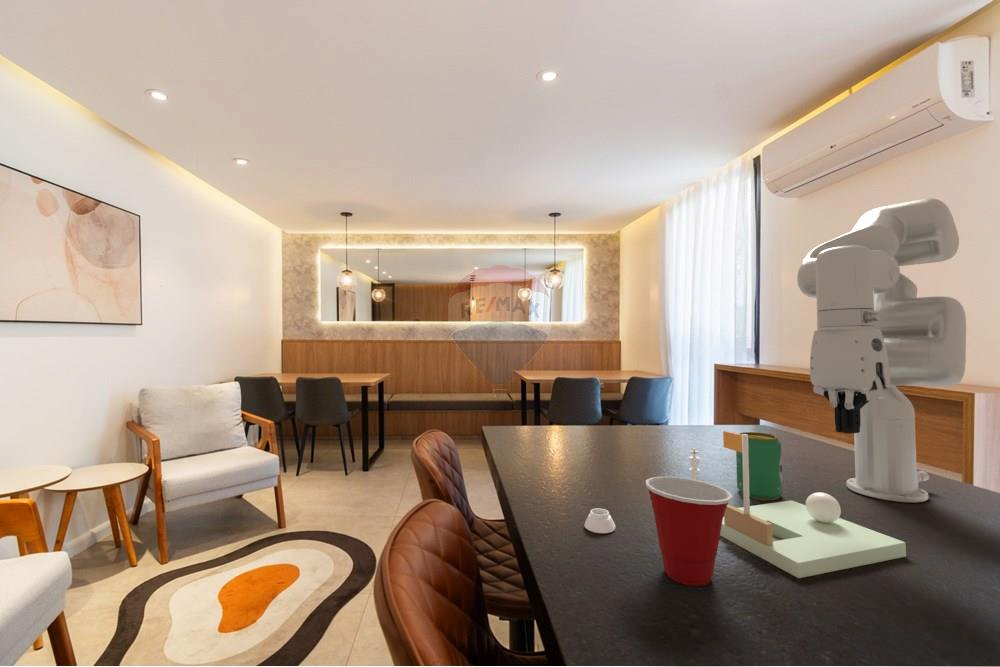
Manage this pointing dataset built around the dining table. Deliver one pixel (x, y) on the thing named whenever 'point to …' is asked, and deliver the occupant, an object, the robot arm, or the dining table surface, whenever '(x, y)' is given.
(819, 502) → the white egg
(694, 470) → the chess piece
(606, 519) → the white jar
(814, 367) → the robot arm
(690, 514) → the plastic cup
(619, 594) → the dining table surface
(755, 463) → the beverage can
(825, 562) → the green
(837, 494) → the dining table surface
